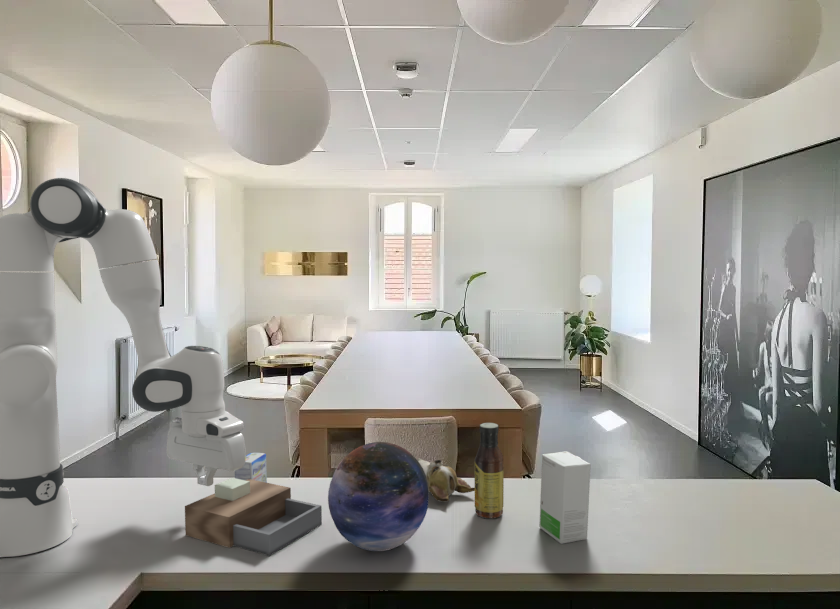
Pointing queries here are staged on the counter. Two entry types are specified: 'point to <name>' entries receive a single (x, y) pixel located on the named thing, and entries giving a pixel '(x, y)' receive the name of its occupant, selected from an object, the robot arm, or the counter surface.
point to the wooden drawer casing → (235, 512)
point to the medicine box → (253, 468)
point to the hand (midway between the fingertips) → (205, 484)
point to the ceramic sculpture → (443, 480)
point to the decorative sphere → (378, 496)
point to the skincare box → (564, 496)
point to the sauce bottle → (489, 474)
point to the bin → (280, 528)
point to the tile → (232, 489)
